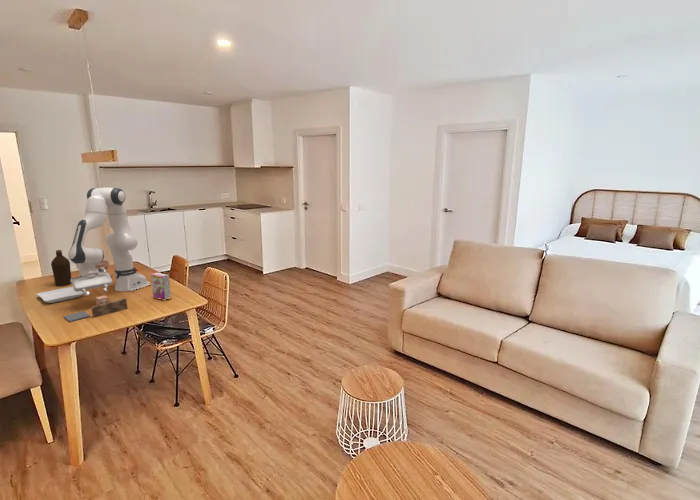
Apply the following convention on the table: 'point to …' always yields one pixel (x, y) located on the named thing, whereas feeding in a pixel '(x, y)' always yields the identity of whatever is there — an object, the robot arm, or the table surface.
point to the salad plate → (60, 295)
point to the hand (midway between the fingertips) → (97, 293)
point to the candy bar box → (160, 285)
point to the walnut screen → (109, 307)
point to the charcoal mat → (76, 316)
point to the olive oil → (61, 269)
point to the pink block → (102, 300)
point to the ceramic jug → (103, 266)
